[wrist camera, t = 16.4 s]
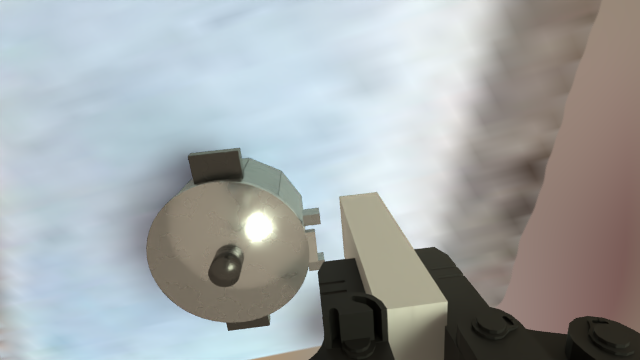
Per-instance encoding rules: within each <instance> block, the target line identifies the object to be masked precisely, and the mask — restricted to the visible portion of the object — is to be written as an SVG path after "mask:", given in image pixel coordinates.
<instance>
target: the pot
mask: <svg viewBox="0 0 640 360" xmlns="http://www.w3.org/2000/svg"><path fill="white" fill-rule="evenodd" d="M188 160H189V164H190V168H191V172H192V177H193V179H192V180H190V181H189V182H188V183H187V184H186V185H185V186H184V188H183V189H182V190H181V191H180V192H182V191H183V190H185V189H187V188H189V187H192V186H194V185H197V184H200V183H203V182H207V181H213V180H226V179H228V180H239V181H245V182H249V183H253V184H256V185H259V186H261V187H263V188H265V189H268V190H270V191H271V192H273V193H275V194H276V195H278V196H279V197H280V198H282V199H283V200H284V201H285V202H287V203H288V205H289V206H290V207H291V208H292V209H293V210H294V211H295V213H296V214H297V215H298V217H299V218H300V220H301V222H302V224H303V226H304V228H305V226H308V225H317V224H321V223H320V214H319V208H312V209H304V210H303V205H302V196H301V195H300V193H299V192H298V191H297V190H296V188H295V187H294V186H293V185H292V184H291V182H290V181H289V180H288V179H287V177H286V176H285V175H284V174H283V172H282V171H280V170H278V169H275V168H273V167H271V166H268V165H266V164H263V163H261V162H258V161H256V160H253V159H251V158H250V159H249V158H245V159H242V157H241V151H240V148H233V149H224V150H215V151H206V152H197V153H191V154H190V155H188ZM180 192H179V193H180ZM179 193H178V194H179ZM317 255H318V262H311V263H309V271H313V270H319V269H320V267H321V265H322V263H323V262H325V261H324V254H323V252H321V253H317ZM226 324H227V328H228V331H230V330H238V329H246V328H254V327H262V326H269V325H270V314H269V315H267V316H264V317H262V318H259V319H255V320H251V321H246V322H235V323H230V322H226Z"/></svg>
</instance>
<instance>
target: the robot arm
mask: <svg viewBox="0 0 640 360" xmlns="http://www.w3.org/2000/svg"><path fill="white" fill-rule="evenodd" d="M339 198H340V210H341V222H342V234H343V246H344V257H345V259H342V260H334V261H326V262H323V263H322V265H321V267H320V269H319V271H318V278H319V287H320V296H321V306H322V315H323V317H322V318H323V326H324V341H323V343H322V346H321V348H320V349H319V351H318V352H317V353H316V354H315V355H314V356H313V357H312V358H311V359H309V360H640V333H638V332H636V331H635V330H633V329H631V328H628V327H627V326H624V325H622V324H620V323H618V322H615V321H611V320H608V319H605V318H599V317H591V316H586V317H580V318H576V319H574V320H573V321H572V322H570V323H569V328H568V334H559V333H550V332H542V331H535V330H528V329H525V327H524V326H523V325H522V324H521V323H520V322H519V321H518V320H517V319H515V318H514V317H513V316H512V315H510V314H508V313H505V312H504V311H502V310H499V309H496V308H492V307H489V306H488V304H487V303H486V302H485V301H484V299H483V298H482V297H481V296H480V294H479V293H478V292H477V291H476V290H475V288H474V287H473V286H472V285H471V283H470V282H469V281H468V280H467V278H466V277H465V276H463V273H462V272H461V271H460V270H459V268H458V267H456V265H455V263H454V262H453V261H452V260H451V258H450V257H449V256H448V255H447V254H445V253H443V252H442V251H440V250H438V249H437V248H435V247H430V248H422V249H413V247H412V246H411V244H410V243H409V241H408V240H407V238H406V236H405V235H404V233H403V232H402V230H401V229H400V227H399V226H398V224H397V223H396V221H395V219H394V218H393V216H392V215H391V213H390V212H389V210H388V209H387V207H386V206H385V204H384V202H383V201H382V199H381V198H380V196H379V195H378V193H377V192H375V193H366V194H358V195H349V196H340V197H339Z"/></svg>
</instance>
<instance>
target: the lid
mask: <svg viewBox="0 0 640 360" xmlns="http://www.w3.org/2000/svg"><path fill="white" fill-rule="evenodd" d="M146 250H147V260H148V264H149V268H150V271H151V273H152V276H153V278H154V280H155V281H156V283H157V285H158V286H159V288H160V289H161V290H162V292H163V293H164V294H165V295H166V296H167V297H168V298H169V299H170V300H171V301H173V302H174V303H175V304H176V305H177V306H179V307H181V308H182V309H184V310H185V311H187V312H189V313H191V314H193V315H196V316H198V317H201V318H204V319H208V320H212V321H218V322H230V323H235V322H246V321H251V320H255V319H259V318H262V317H264V316H267V315H269V314H271V313H273V312H275V311H277V310H278V309H280V308H281V307H283V306H284V305H285V304H287V303H288V302H289V301H290V300H291V299H292V298H293V297H294V295H295V294H296V293H297V292H298V290H299V289H300V287H301V285H302V284H303V282H304V279H305V277H306V274H307V270H308V267H309V263H311V262H318V255H317V246H316V237H315V229H309V230H305V228H304V226H303V224H302V222H301V220H300V218H299V217H298V215H297V214H296V213H295V211H294V210H293V209H292V208H291V207H290V206H289V205H288V203H287V202H285V201H284V200H283V199H282V198H280V197H279V196H278V195H276V194H275V193H273V192H271V191H270V190H268V189H265V188H263V187H261V186H259V185H256V184H253V183H249V182H245V181H239V180H228V179H226V180H213V181H207V182H203V183H200V184H197V185H194V186H192V187H189V188H187V189H185V190H183V191H182V192H180V193H179V194H177V195H176V196H174V197H173V198H172V199H171V200H170V201H169V202H168V203H167V204H166V205H165V206H164V207H163V208H162V209H161V211H160V212H159V213H158V215H157V216H156V218H155V219H154V221H153V223H152V225H151V228H150V230H149V234H148V238H147V248H146Z"/></svg>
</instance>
